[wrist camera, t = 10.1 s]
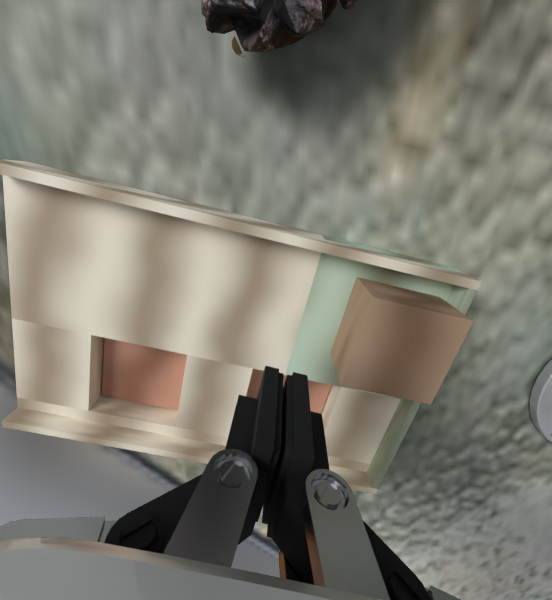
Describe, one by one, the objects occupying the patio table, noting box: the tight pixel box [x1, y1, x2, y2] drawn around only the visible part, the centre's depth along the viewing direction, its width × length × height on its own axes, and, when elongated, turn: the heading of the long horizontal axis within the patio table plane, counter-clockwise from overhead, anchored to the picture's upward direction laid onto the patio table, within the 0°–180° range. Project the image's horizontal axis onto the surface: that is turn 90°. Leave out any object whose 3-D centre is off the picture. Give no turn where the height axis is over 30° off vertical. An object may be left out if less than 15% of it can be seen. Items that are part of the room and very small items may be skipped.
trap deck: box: [0, 159, 482, 494], centre depth 23 cm, size 30×19×4 cm, turn 76°
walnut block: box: [330, 277, 474, 405], centre depth 20 cm, size 6×6×4 cm
